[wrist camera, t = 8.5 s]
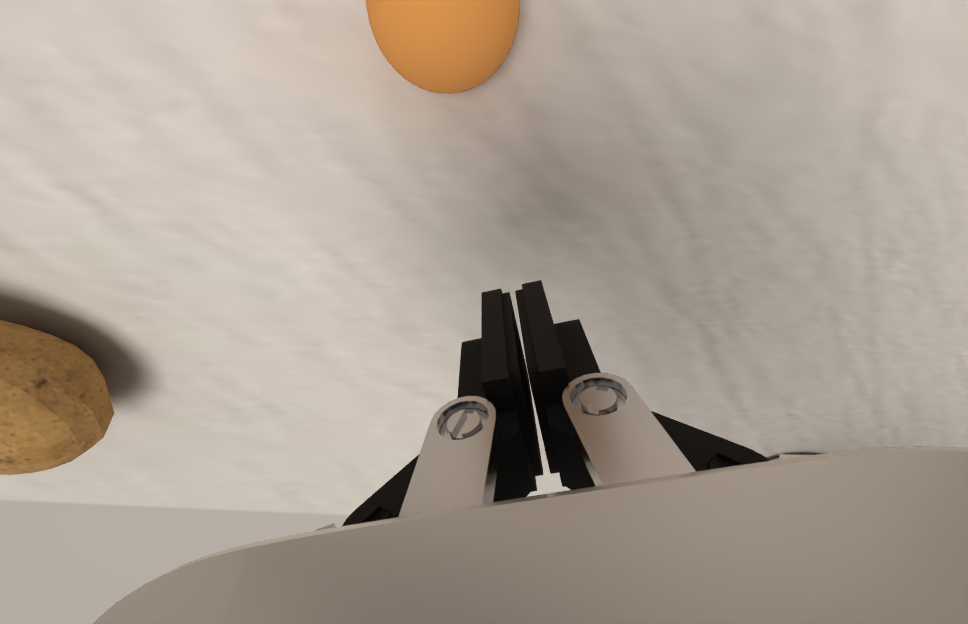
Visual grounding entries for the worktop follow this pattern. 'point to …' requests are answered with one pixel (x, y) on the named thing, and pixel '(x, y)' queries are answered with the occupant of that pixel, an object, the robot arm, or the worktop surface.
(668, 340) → the worktop surface
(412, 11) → the brown egg
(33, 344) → the potato
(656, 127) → the worktop surface
